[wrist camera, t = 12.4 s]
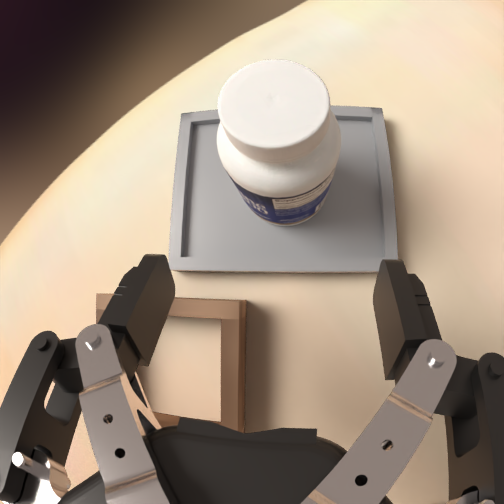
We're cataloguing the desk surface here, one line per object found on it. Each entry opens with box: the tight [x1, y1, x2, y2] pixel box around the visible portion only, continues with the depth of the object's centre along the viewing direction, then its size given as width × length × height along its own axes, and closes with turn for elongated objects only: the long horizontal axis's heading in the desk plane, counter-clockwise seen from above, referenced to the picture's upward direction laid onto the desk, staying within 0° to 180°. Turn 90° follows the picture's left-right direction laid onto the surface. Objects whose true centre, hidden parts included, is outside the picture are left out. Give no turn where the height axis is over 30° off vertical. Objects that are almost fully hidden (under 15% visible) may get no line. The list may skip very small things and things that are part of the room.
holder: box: [96, 294, 246, 433], centre depth 19 cm, size 10×10×2 cm
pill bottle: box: [217, 59, 341, 226], centre depth 15 cm, size 5×5×10 cm
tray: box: [168, 106, 398, 273], centre depth 20 cm, size 14×11×1 cm
